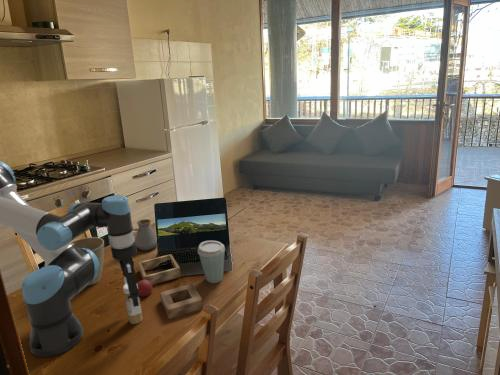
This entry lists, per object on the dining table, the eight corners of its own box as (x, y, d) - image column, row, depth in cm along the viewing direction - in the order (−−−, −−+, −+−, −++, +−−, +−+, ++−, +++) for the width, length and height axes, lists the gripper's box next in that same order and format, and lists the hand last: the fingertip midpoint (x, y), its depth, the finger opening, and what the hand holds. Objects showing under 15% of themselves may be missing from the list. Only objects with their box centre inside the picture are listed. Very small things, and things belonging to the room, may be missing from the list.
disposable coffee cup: (229, 272, 156) (226, 238, 152) (225, 287, 146) (222, 251, 141) (204, 272, 157) (200, 239, 153) (198, 287, 147) (194, 251, 143)
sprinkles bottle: (144, 320, 129) (139, 285, 125) (131, 326, 127) (125, 290, 123) (140, 314, 133) (134, 279, 129) (127, 319, 130) (121, 284, 126)
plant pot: (62, 289, 151) (54, 252, 146) (86, 270, 165) (79, 236, 160) (96, 292, 148) (88, 255, 143) (117, 272, 161) (111, 238, 157)
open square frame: (145, 286, 150) (144, 277, 149) (139, 270, 162) (138, 262, 161) (181, 276, 155) (179, 267, 154) (172, 262, 167) (171, 254, 166)
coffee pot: (151, 239, 192) (147, 211, 187) (164, 245, 184) (160, 216, 180) (111, 255, 177) (105, 225, 173) (124, 263, 169) (118, 231, 165)
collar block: (169, 319, 129) (167, 310, 128) (161, 301, 140) (159, 292, 139) (203, 308, 134) (202, 299, 133) (192, 291, 144) (192, 283, 143)
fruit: (139, 303, 143) (142, 291, 138) (132, 291, 145) (134, 279, 140) (154, 296, 146) (157, 284, 141) (147, 284, 149) (150, 272, 144)
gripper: (142, 256, 112) (152, 319, 118) (129, 228, 134) (138, 282, 140) (115, 263, 109) (127, 327, 115) (106, 233, 131) (117, 288, 137)
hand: (133, 302), depth 127 cm, fingers open, 13 cm apart
